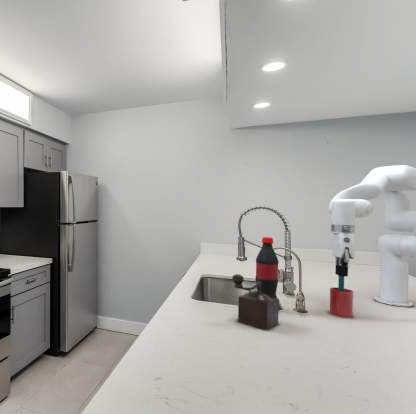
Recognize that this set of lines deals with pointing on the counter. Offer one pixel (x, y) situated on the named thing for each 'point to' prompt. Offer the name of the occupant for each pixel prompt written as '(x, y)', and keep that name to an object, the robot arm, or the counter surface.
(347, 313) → the can
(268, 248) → the cola bottle
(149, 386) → the counter surface
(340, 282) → the straw
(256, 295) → the manual coffee grinder
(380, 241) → the robot arm
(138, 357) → the counter surface
